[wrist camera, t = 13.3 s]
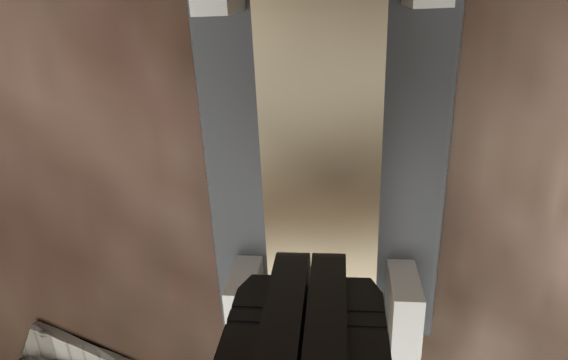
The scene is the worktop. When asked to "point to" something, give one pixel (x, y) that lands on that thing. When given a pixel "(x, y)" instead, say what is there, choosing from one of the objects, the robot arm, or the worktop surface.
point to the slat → (321, 125)
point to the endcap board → (395, 152)
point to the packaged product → (61, 346)
